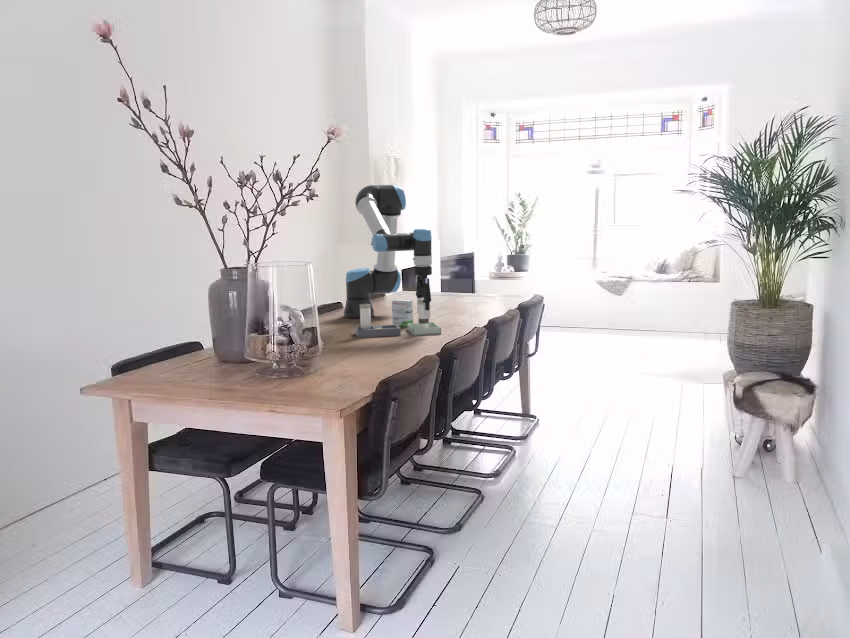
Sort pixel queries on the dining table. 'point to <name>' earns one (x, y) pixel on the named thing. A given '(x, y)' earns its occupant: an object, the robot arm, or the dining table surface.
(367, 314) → the fuse
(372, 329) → the board
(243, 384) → the dining table surface
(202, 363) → the dining table surface
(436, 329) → the parts tray
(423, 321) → the fuse
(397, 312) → the ink box
